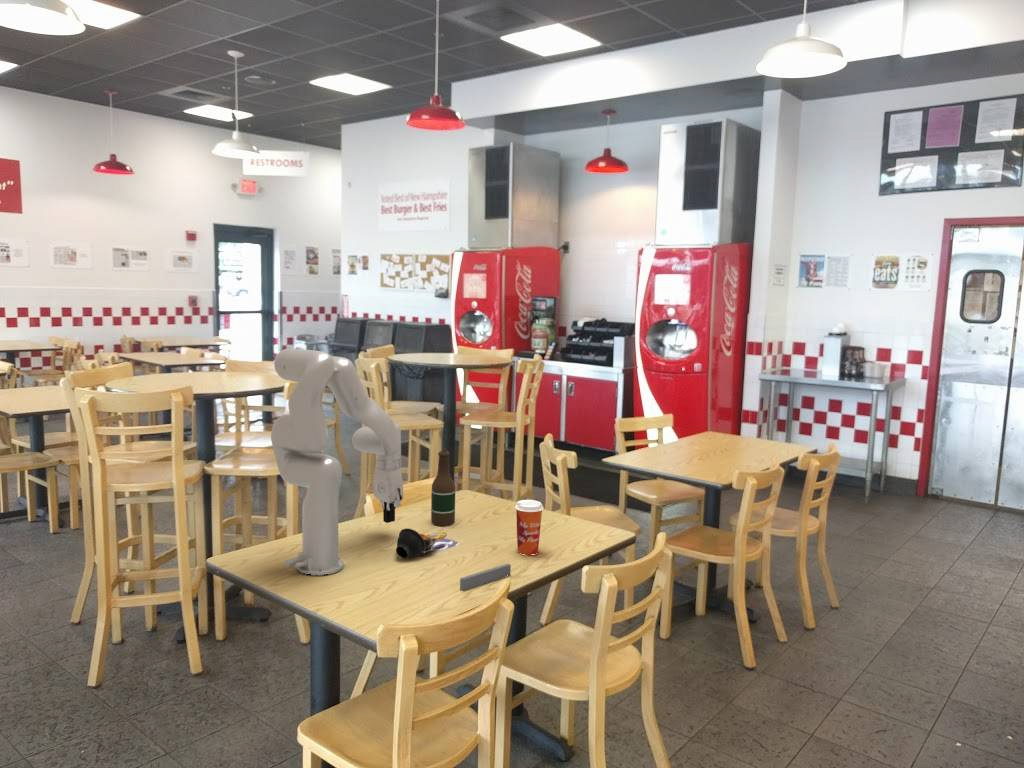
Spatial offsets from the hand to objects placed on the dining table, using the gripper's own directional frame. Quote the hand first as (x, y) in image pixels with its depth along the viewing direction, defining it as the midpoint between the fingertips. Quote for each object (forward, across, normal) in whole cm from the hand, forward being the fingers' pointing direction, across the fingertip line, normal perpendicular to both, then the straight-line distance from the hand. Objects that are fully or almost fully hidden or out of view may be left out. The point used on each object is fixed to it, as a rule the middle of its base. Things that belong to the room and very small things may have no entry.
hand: (389, 521), depth 235 cm
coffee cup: (+5, +37, +24) cm, 44 cm away
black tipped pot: (+5, +18, -1) cm, 19 cm away
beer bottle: (+6, 0, +21) cm, 21 cm away
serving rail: (+4, +46, -1) cm, 47 cm away
